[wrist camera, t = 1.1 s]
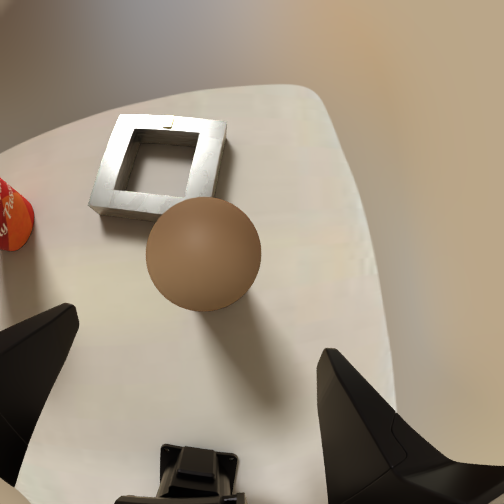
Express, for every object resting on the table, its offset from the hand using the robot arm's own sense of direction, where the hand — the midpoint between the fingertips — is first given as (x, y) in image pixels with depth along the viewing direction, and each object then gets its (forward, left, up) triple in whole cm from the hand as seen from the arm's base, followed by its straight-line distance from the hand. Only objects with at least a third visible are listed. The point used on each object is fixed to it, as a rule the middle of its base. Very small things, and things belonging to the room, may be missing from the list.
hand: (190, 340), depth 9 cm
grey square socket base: (+12, +6, -13) cm, 19 cm away
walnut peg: (+3, 0, -13) cm, 13 cm away
